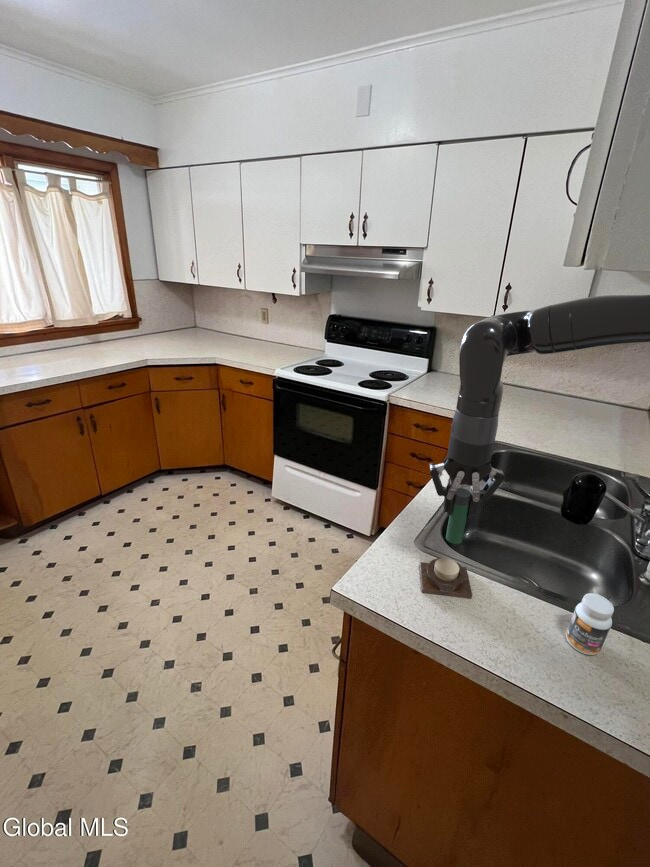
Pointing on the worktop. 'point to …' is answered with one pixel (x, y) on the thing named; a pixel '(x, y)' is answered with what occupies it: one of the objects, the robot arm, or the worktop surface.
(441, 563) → the dot pad
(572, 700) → the worktop surface
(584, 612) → the pill bottle
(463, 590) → the tealight candle holder
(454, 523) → the cylinder
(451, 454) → the robot arm
